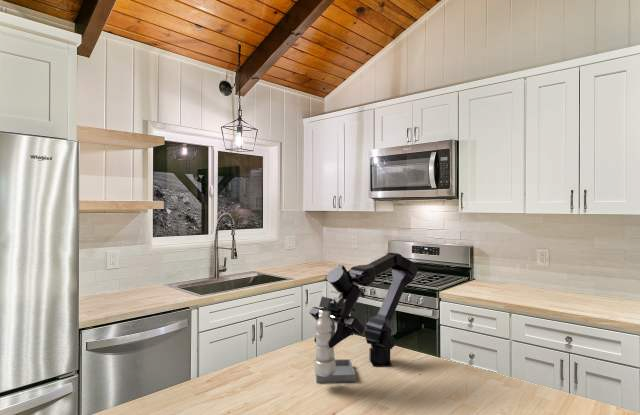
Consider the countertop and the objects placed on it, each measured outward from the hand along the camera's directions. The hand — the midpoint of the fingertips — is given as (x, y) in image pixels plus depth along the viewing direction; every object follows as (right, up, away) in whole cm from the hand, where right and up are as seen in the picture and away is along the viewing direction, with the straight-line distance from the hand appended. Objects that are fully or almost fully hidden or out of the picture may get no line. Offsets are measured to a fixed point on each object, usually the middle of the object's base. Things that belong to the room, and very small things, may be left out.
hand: (322, 344), depth 122 cm
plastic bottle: (+1, -10, +1) cm, 10 cm away
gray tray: (+4, -13, +11) cm, 17 cm away
